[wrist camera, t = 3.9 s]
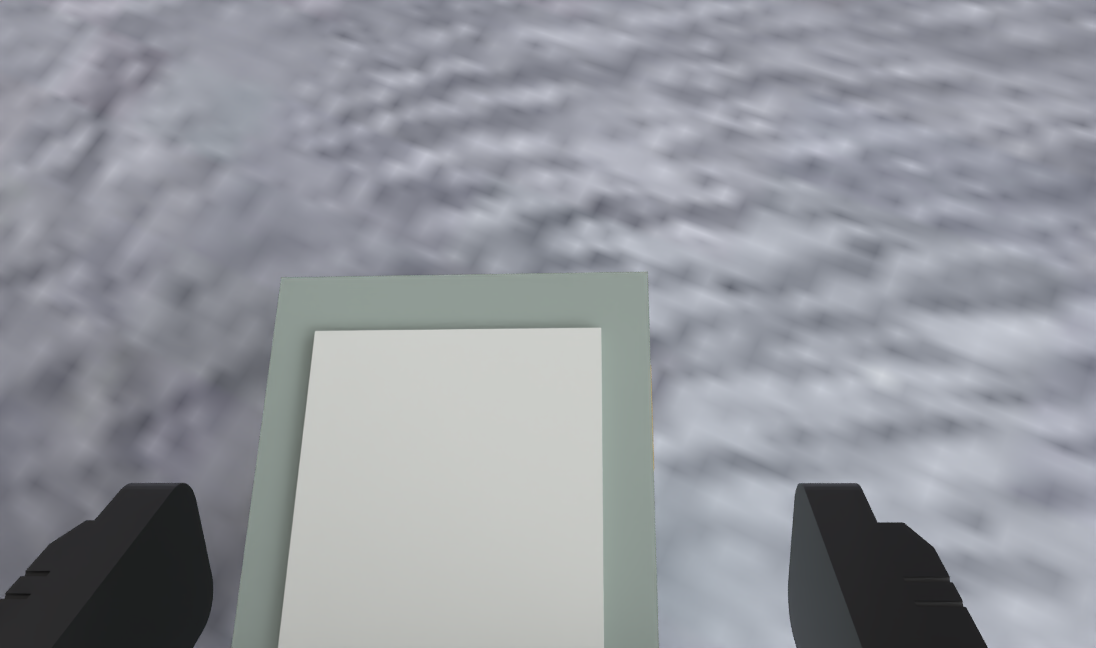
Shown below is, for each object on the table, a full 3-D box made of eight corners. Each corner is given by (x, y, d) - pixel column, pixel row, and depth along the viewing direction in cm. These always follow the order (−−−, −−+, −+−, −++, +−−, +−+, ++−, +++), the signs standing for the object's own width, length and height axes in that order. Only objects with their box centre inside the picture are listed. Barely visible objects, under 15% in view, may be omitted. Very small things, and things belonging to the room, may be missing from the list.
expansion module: (635, 471, 18) (653, 266, 10) (641, 752, 16) (669, 794, 8) (427, 471, 19) (271, 271, 10) (409, 749, 17) (201, 785, 8)
